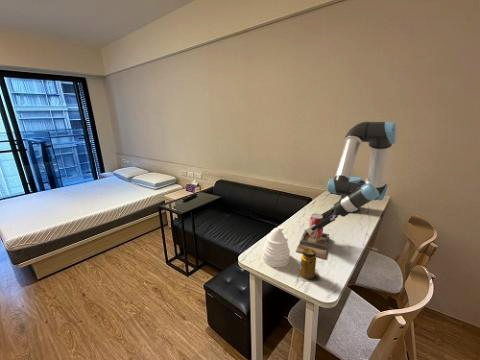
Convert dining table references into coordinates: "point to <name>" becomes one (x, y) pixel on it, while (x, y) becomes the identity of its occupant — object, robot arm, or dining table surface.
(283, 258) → the honey pot
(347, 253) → the dining table surface
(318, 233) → the soda can
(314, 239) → the board
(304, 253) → the condiment
